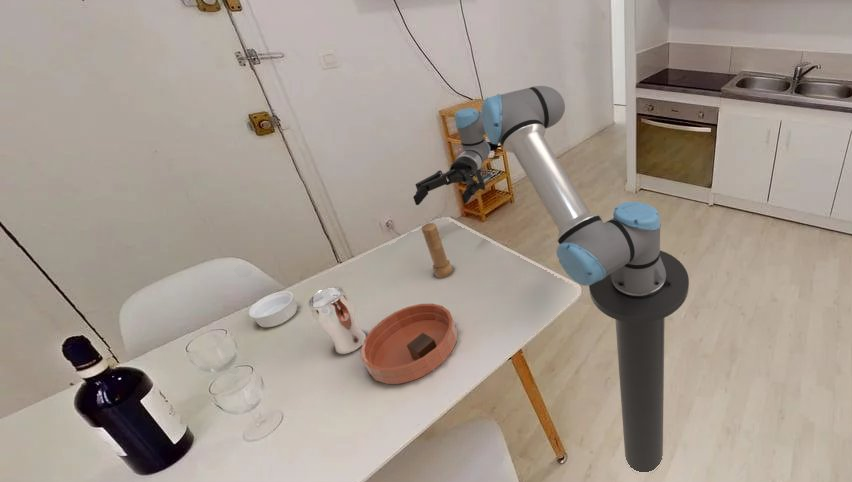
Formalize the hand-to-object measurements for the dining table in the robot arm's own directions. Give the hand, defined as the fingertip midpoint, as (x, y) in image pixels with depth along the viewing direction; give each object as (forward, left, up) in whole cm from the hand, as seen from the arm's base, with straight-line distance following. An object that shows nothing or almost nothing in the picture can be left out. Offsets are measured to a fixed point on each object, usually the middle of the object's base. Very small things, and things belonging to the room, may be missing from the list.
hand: (440, 200), depth 115 cm
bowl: (-4, +35, -19) cm, 40 cm away
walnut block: (-7, +37, -19) cm, 42 cm away
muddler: (0, +9, -19) cm, 21 cm away
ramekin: (+36, +24, -19) cm, 47 cm away
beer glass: (+12, +33, -19) cm, 40 cm away
